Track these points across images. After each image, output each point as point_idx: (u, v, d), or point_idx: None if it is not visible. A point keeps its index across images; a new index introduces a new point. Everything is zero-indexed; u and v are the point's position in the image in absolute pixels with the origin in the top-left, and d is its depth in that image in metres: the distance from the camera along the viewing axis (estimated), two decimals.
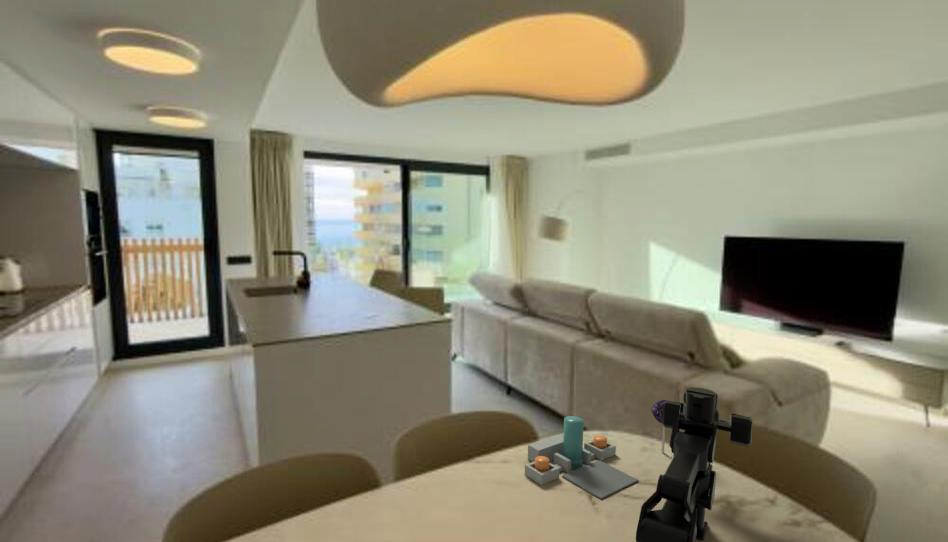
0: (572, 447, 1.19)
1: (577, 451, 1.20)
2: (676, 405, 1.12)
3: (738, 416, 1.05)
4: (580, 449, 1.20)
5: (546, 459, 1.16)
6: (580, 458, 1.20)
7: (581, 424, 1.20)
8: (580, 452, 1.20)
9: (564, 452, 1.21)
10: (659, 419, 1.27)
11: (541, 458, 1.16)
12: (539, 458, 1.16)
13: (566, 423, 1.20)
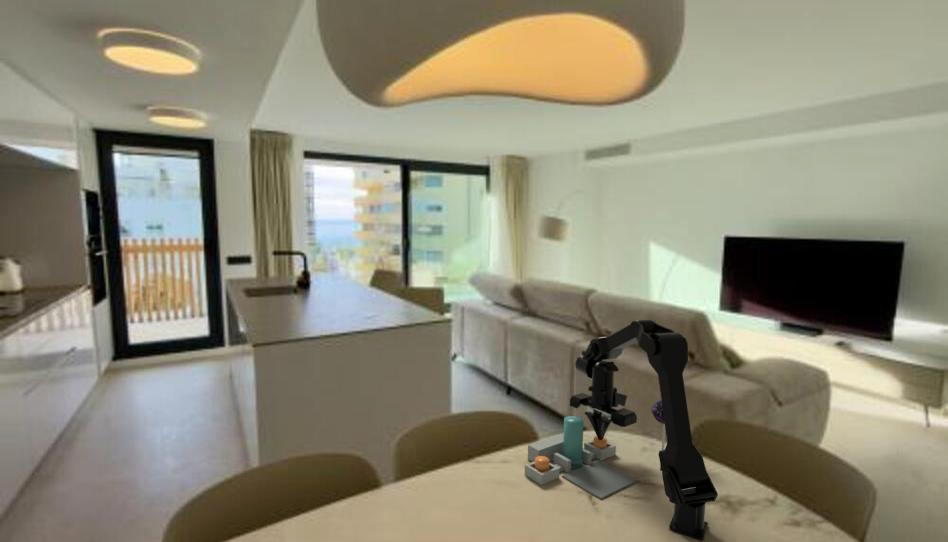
0: (572, 447, 1.19)
1: (577, 451, 1.20)
2: None
3: None
4: (580, 449, 1.20)
5: (546, 459, 1.16)
6: (580, 458, 1.20)
7: (581, 424, 1.20)
8: (580, 452, 1.20)
9: (564, 452, 1.21)
10: (659, 419, 1.27)
11: (541, 458, 1.16)
12: (539, 458, 1.16)
13: (566, 423, 1.20)
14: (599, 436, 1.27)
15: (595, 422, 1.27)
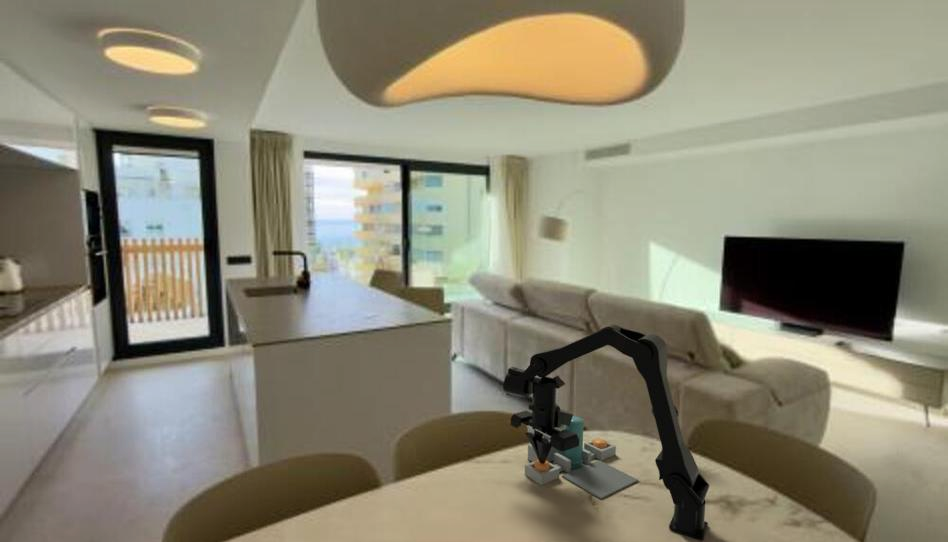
0: None
1: (577, 451, 1.20)
2: None
3: None
4: (580, 449, 1.20)
5: (546, 462, 1.16)
6: (580, 458, 1.20)
7: (581, 424, 1.20)
8: (580, 452, 1.20)
9: (564, 452, 1.21)
10: None
11: None
12: None
13: None
14: (540, 460, 1.15)
15: (536, 444, 1.15)
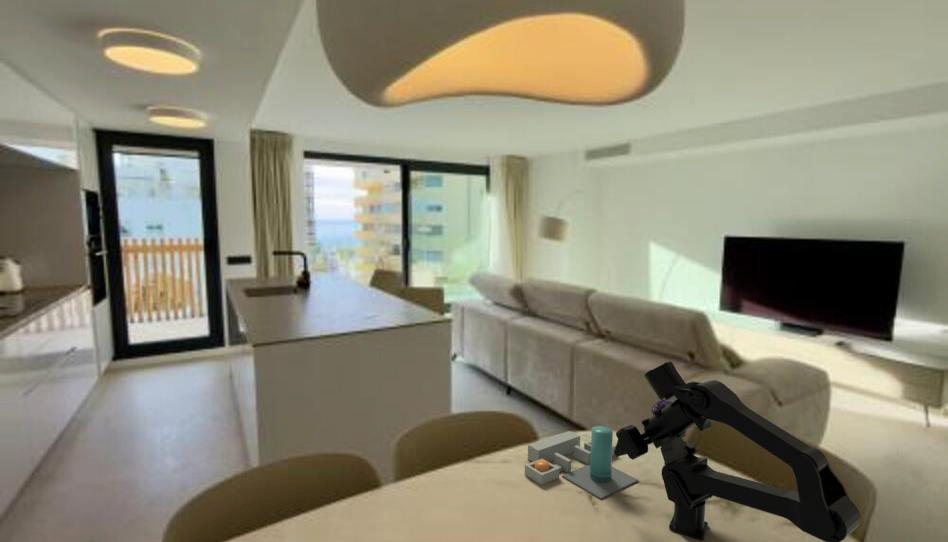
0: (601, 460, 1.12)
1: (606, 464, 1.12)
2: None
3: None
4: (609, 462, 1.13)
5: (546, 463, 1.16)
6: (609, 471, 1.13)
7: (610, 435, 1.12)
8: (609, 465, 1.13)
9: (592, 465, 1.14)
10: None
11: (541, 462, 1.16)
12: (539, 461, 1.16)
13: (594, 434, 1.13)
14: None
15: None
